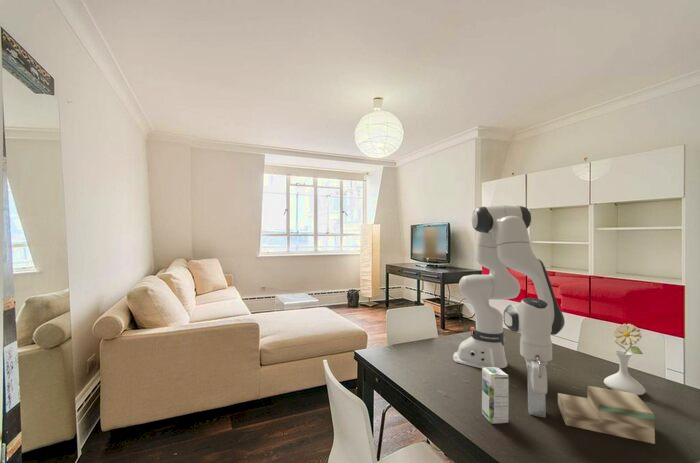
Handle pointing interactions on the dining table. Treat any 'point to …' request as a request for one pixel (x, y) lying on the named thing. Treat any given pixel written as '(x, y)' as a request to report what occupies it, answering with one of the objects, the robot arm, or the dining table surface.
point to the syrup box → (495, 395)
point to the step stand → (609, 413)
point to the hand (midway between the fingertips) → (536, 394)
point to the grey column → (535, 405)
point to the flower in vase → (625, 361)
